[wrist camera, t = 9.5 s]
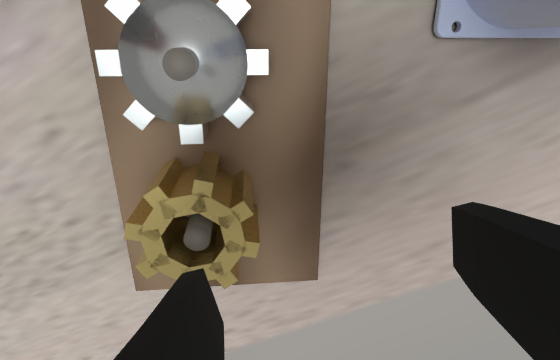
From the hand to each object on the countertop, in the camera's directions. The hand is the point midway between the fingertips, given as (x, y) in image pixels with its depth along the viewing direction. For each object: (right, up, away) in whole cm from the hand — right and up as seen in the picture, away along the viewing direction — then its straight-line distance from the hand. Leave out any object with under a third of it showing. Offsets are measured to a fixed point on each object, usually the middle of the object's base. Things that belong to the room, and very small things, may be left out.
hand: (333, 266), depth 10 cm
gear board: (-5, +4, +9) cm, 11 cm away
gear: (-6, +8, +6) cm, 12 cm away
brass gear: (-6, +1, +9) cm, 11 cm away
